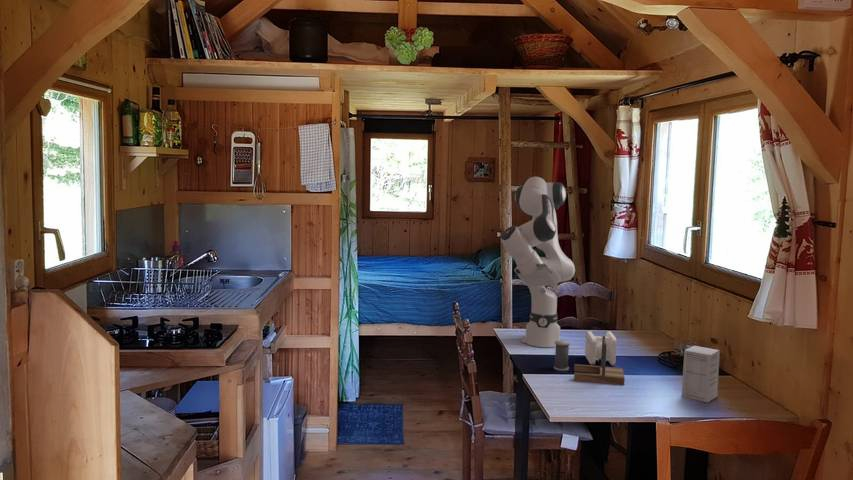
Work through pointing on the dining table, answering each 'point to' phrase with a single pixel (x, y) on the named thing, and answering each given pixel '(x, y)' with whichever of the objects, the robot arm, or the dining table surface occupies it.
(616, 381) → the wooden frame
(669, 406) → the dining table surface
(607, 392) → the dining table surface
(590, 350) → the cable organizer
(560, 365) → the grey mushroom bollard
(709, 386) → the supplement box
